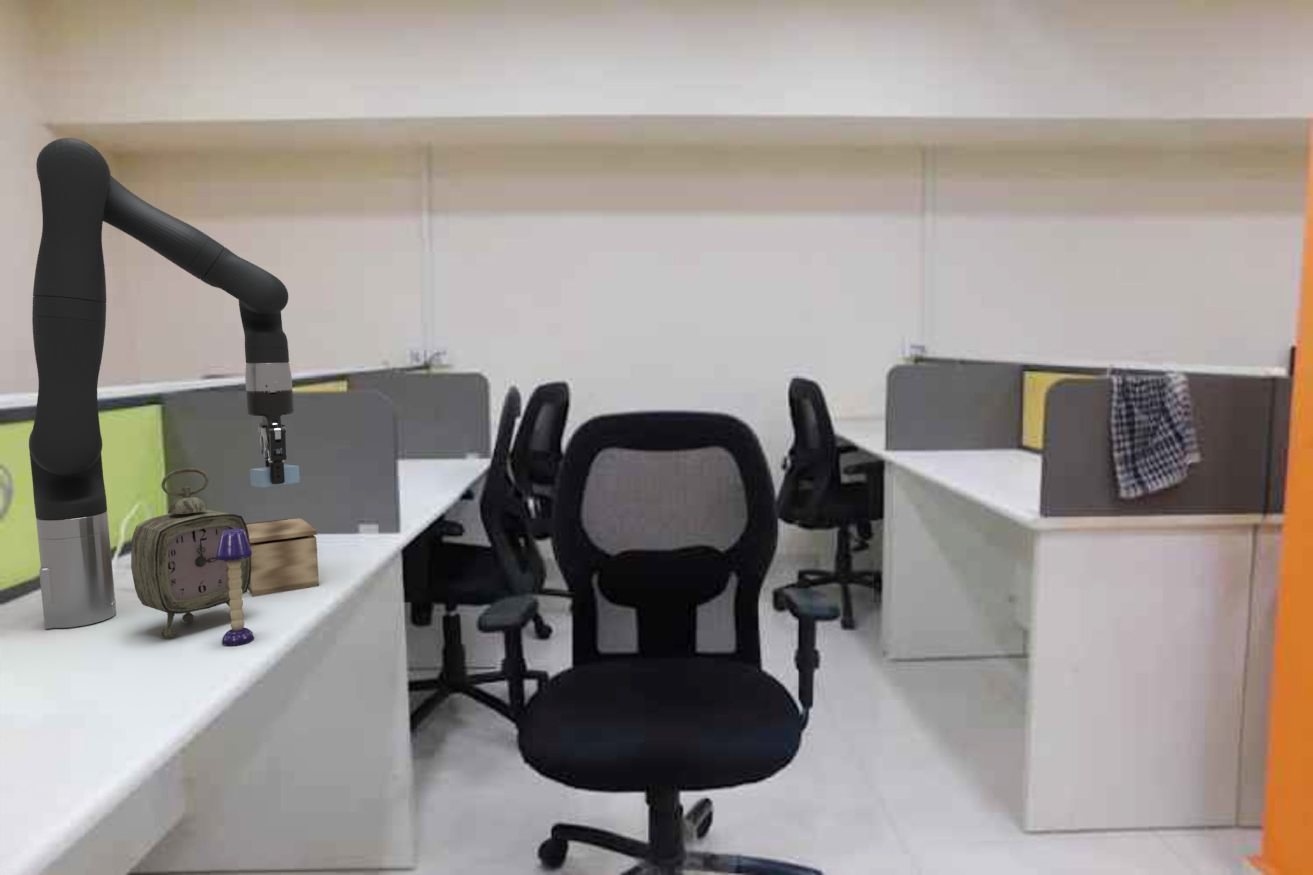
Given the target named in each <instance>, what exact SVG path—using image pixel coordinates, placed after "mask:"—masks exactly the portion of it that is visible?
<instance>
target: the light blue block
mask: <svg viewBox="0 0 1313 875" xmlns="http://www.w3.org/2000/svg"><path fill="white" fill-rule="evenodd" d="M249 476H250V477H249V478H250V486H252V487H257V488H262V489H263V488H269V487H276V486H282V485H288V484H289V485H290V484H297V483H301V482H300V480H301V477H300V467H299V465H292V464H284V477H285V482H284V483H282V484H272V483H271V478H270V467H265V466H264V467H258V468H257V467H256V468H249Z"/></svg>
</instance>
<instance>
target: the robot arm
mask: <svg viewBox="0 0 1313 875" xmlns="http://www.w3.org/2000/svg"><path fill="white" fill-rule="evenodd" d="M35 165H36V175H37V179H38V181H39V182H38V183H39V187H40V188H39V189H40V197H41V214H42V226H41V227H42V229H41V230H42V232H41V237H40V244H39V247H38V252H37V253H38V254H37V259H36V264H35V271H34V281H33V289H32V311H31V312H32V316H31V317H32V319H31V320H32V321H31V322H32V337H33V338H32V340H33V347H34V348H33V350H34V356H35V362H36V363H35V364H36V370H37V376H38V377H37V378H38V390H37V400H36V408H35V413H34V421H33V425H32V430H31V432H30V434H29V438H28V449H29V458H30V459H29V460H30V470H31V477H32V478H31V479H32V493H33V494H32V495H33V504H34V511H35V522H36V523H35V524H36V531H37V532H36V533H37V542H38V553H39V561H40V562H39V564H40V567H39V570H38V571H39V572H38V573H39V583H40V591H41V602H42V612H43V613H42V614H43V622H44V623H43V624H44V629H45V630H49V629H61V628H62V629H65V628H74V627H75V628H76V627H82V626H83V627H84V626H88V625H92V624H95V623H99V622H102V621H105V620H108V619H111V618H112V617H114V616H115V615H116V614H117V609H116V608H117V607H116V605H117V604H116V602H117V601H116V596H115V585H114V572H113V561H112V560H113V559H112V549H111V540H110V529H109V528H110V526H109V525H110V524H109V516H108V504H107V503H108V502H107V494H106V487H105V479H104V470H103V458H102V457H103V456H102V450H103V439H102V433H101V425H100V415H99V404H98V403H99V402H98V401H99V400H98V384H99V383H98V382H99V376H100V370H101V366H102V358H103V352H104V344H105V334H106V326H107V324H106V323H107V283H106V282H107V281H106V279H107V278H106V269H105V267H106V266H105V259H104V251H103V250H104V249H103V223H106V224H108V225H110V226H112V227H114V228H116V229H117V230H119V231H121V232H123V233H125V234H126V235H129V236H130V237H132V238H133V239H135V240H137V241H138V242H140V243H141V244H144V245H145V246H146V247H148V248H149V249H151V250H153V251H154V252H156V253H157V254H158V255H160V256H162V257H164V258H165V259H166V260H168V261H169V262H171V263H173V264H174V265H176V266H177V267H179V268H181V269H182V270H184V271H185V272H187V273H188V274H190V275H192V276H193V277H195V278H196V279H197V280H200V281H202V282H203V283H205V284H207V285H208V286H211V287H212V288H216V289H220V290H222V291H224V292H226V293H227V294H229V295H230V296H232V297H234V298H235V299H237V300H238V307H239V313H240V320H241V324H242V329H243V334H244V355H245V356H244V357H245V371H244V372H245V374H244V375H245V376H244V377H245V378H244V380H245V394H246V410H247V414H248V415H249V416H253V417H261V416H262V417H261V422H260V423H259V425H258V434H259V436H260V438H259V440H260V448H261V450H260V451H261V455H262V458H263V460H264V461H265V462H264V465H265V466H264V467H270V478H271V483H272V484H282V483H284V482H285V477H284V465H285V461H286V460H287V450H286V448H287V444H286V443H287V442H286V441H287V440H286V439H287V438H286V433H287V430H286V429H287V428H286V425H285V424H283V423H282V418H281V417H282V416H283V415H285V416H286V415H291V414H293V413H294V410H295V409H294V395H293V394H294V393H293V392H294V391H293V380H292V379H293V378H292V372H291V367H290V355H289V354H290V353H289V352H290V351H289V341H288V338H287V335H286V333H285V332H284V330H283V321H282V320H283V318H282V311H283V310H284V309H285V308H286V306H287V305H288V301H289V292H288V289H287V287H286V285H285V284H284V283H283V281H281V279H280V278H278V277H276V276H275V275H274V274H272V273H271V272H269V271H267V270H265V269H264V268H262V267H260V266H258V265H257V264H255V263H252V262H250V261H249V260H246V259H244V258H243V257H240V256H239V255H237V254H235V253H234V252H233V251H231V250H230V249H229V248H227V247H225V245H223V244H221V243H220V242H218V241H217V240H215V239H214V238H212V237H210V236H209V235H208V234H206V233H205V232H203V231H202V230H199V229H198V228H196V227H195V226H192V225H191V224H189V223H187V222H185V221H183V220H181V219H179V218H177V217H175V216H173V215H171V214H169V213H167V212H165V211H163V210H161V209H159V208H157V207H155V206H154V205H152V204H150V203H148V202H147V201H145V200H143V199H142V198H141V197H139V196H138V195H137V194H135V193H133V192H132V191H130V189H127V188H126V186H124V185H123V184H121V182H119V181H118V180H117V179H115V178H114V177H113V176H112V175H111V169H110V167H109V164H108V162H107V160H106V158H105V157H104V156H103V154H102V153H101V152H100V151H99V150H97V149H96V147H94V146H93V145H92V144H90V143H88V142H87V141H84V140H83V139H79V138H73V137H62V138H57V139H55V140H53V141H51V142H49V143H48V144H46V145H44V147H43V148H42V149H40V151H39V153H38V156H37V158H36V164H35Z"/></svg>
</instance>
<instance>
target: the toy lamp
mask: <svg viewBox="0 0 1313 875" xmlns="http://www.w3.org/2000/svg"><path fill="white" fill-rule="evenodd" d="M251 555H252V551H251V548H250V545H249V542H248V539H247V536H246V533H245V531H244V530H243V529H230V530H225V531H223V532H222V534H221V537H220V541H219V546H218V550H217V555H216V558H217V559H218V560H224V561H225V560H226V561H227V560H228V561H227V565H228V568H229V570H228V577H229V578H230V579H229V581H228V585H229V588H230V590H229V597H230V599H231V600H230V603H229V605H230V607H229V608H230V611H229V616H230V619H231V620H230V627H231V629H229V630H228V631H226V632H225V633H224V634H223V637H222V640H221V644H222V645H223V646H228V645H232V646H238V644H240V645H244V644H247V643H250V642H253V640H255V636H254V633H253V631H252V630H251V629H250V628H248V627H244V626H245V621H244V615H245V614H244V609H243V607H244V600H243V598H242V597H243V595H242V593H243V592H242V589H241V586H242V580H241V578H240V577H241V569H240V565H241V559H244V558H248V557H250V556H251ZM249 641H250V642H249ZM243 643H244V644H243Z"/></svg>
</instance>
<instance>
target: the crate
mask: <svg viewBox="0 0 1313 875" xmlns="http://www.w3.org/2000/svg"><path fill="white" fill-rule="evenodd" d="M317 543H318V542H317V537H316V535H309V536H302V537H294V538H286V539H278V540H271V541H263V542H255V543H250V547H251V551H252V555H251V578H250V584H249V587H248V591H249V593H250V594H251V596H252V597H258V596H264V595H270V594H277V593H278V594H279V593H283V592H288V591H295V590H301V589H302V590H303V589H307V588H308V589H309V588H314V587H319V586H320V581H319V580H320V579H319V565H318V564H319V563H318V559H319V558H318V548H317V546H318V544H317Z"/></svg>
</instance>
